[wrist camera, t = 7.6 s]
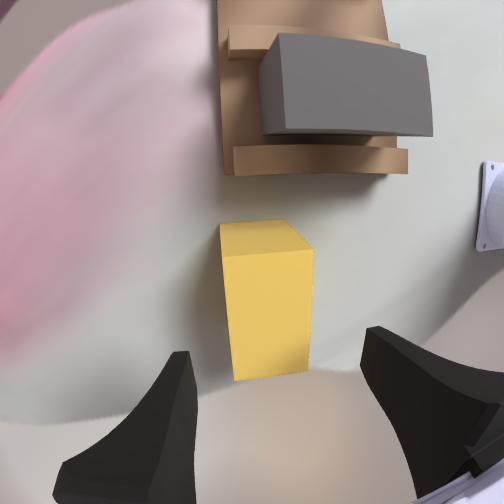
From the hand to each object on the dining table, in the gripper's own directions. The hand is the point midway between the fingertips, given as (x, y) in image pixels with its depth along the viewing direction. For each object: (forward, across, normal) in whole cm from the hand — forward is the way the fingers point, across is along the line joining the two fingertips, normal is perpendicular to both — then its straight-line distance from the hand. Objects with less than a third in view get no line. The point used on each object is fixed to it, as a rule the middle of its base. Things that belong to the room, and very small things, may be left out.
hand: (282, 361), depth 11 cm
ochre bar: (+9, 0, 0) cm, 9 cm away
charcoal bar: (+8, -4, -11) cm, 14 cm away
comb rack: (+9, -4, -14) cm, 17 cm away
